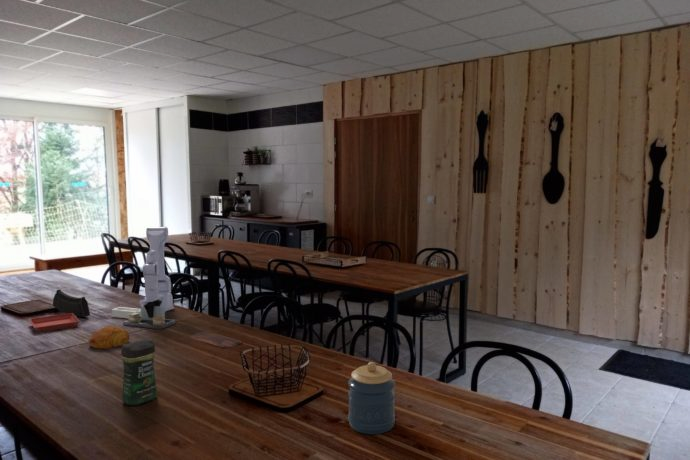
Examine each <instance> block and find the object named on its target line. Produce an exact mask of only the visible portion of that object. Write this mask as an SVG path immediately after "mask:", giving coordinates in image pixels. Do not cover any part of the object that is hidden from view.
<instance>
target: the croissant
mask: <svg viewBox="0 0 690 460" xmlns="http://www.w3.org/2000/svg"><path fill="white" fill-rule="evenodd" d="M130 338H131V337H130V333H129V332H128V330H127V329H125V328H122V327H121V326H116V325H115V326H114V325H107V326H104V327H101V328H100V329H98V330H97V331H96V332H94V333H93V334H92V335H91V337H90V338H89V339H88V340H87V341H88V343H89V345H90V346H91V347H93V348H95V349H99V350H100V349H106V350H107V349H108V350H109V349H113V348H116V347H117V348H118V347H120V346H121V347H122V346H123V345H124V344H128V343H129V341H130Z"/></svg>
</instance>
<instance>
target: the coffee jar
mask: <svg viewBox="0 0 690 460" xmlns="http://www.w3.org/2000/svg"><path fill="white" fill-rule="evenodd" d="M155 355H156V347H155V342H154V341H153V340H151V339H149V338H144V339H141V340H138V341H137V340H136V341H133V342H128V343H127V344H124V345H121V352H120V358H121V361H122V365H123V382H122V394H121V395H122V396H121V397H122V402H123V403H124V404H125V405H128V406H138V405H141V404H143V403H146V402H150V401H152V400H154V399H156V397H157V396H158V390H157V383H156V382H157V381H156V377H155V367H154V360H155Z"/></svg>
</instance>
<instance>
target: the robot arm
mask: <svg viewBox="0 0 690 460" xmlns="http://www.w3.org/2000/svg"><path fill="white" fill-rule="evenodd" d="M145 232H146V233H145V235H146V239H147V240H148V242H149V251H148V252H147V253H146V258H145V263H144V264H143V266H142V274H143V280H144V286H145V287H144V289H145V297H143V299H141V300H139V306H142V305H143V306H144V308H145V309H146V311H147V314H148V317H149V318H153V311H154V306H160V307H165V313H166V312H167V311H168V312H169V311H170V310H174V309H175V307H174V303H173V302H174V301H173V300H174V299H173V294H172V293H171V290H172V282H171V277H170V276H168V275H167V274H166V273H165V270H166V269H165V245H166V243H168V242H169V229H168V227H167V226H147V227H146V231H145Z"/></svg>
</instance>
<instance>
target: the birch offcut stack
mask: <svg viewBox="0 0 690 460" xmlns="http://www.w3.org/2000/svg"><path fill="white" fill-rule="evenodd" d="M127 320H128V322H137V323H140V313H132V314H129V319H128V318H127Z"/></svg>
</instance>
